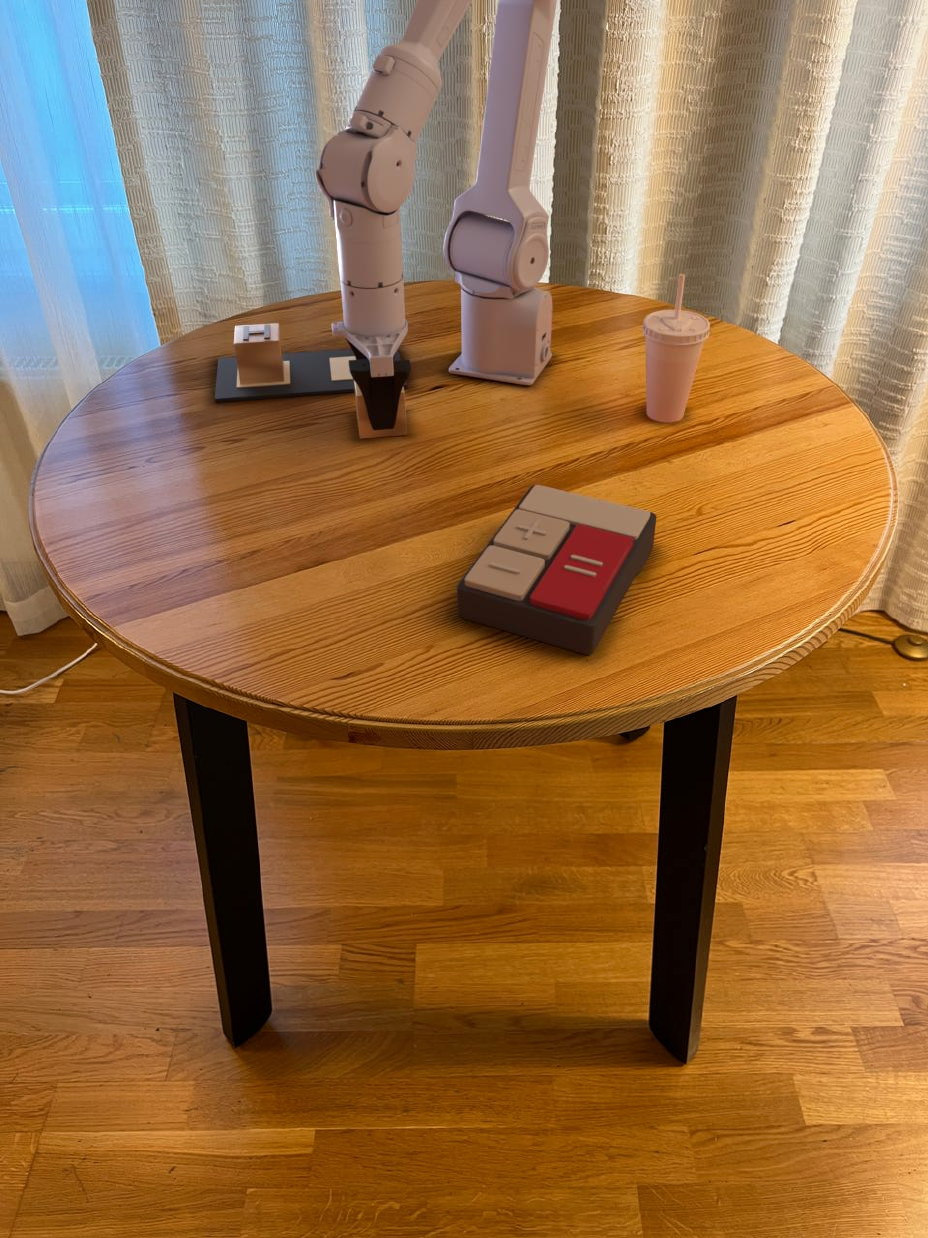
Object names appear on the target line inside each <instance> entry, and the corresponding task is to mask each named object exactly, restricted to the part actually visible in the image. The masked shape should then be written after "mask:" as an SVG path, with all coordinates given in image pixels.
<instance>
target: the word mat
mask: <svg viewBox="0 0 928 1238" xmlns="http://www.w3.org/2000/svg"><path fill="white" fill-rule="evenodd" d="M217 359H218V360H217V370H216V380H215V391H214V394H215V395H214V401H215V402H214V403H225V402H239V401H252V400H265V399H279V398H293V397H306V396H308V397H309V396H320V395H321V396H322V395H333V394H335V395H336V394H347V393H348V394H349V393H355V388H354V379H353V377H352V376H351V374H350V370H349V362H348V361H349V360H356V357H355V355H354V353H353V351H352V349H351V348H346V349H333V350H332V349H330V350H318V351H317V350H315V351H304V352H303V351H301V352H289V353H283V361H284V381H282V382H268V383H255V384H240V379H239V372H238V366H237V360H236V356H232V357H231V356H230V357H218V358H217ZM398 360H402V358H401V354H400V350H399V348H398V349H397V351H396V353H395V357H394V361H398ZM403 387H404V389H407V388H408V384H407V380H406V381H405V383H404V386H403Z"/></svg>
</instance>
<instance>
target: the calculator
mask: <svg viewBox="0 0 928 1238" xmlns="http://www.w3.org/2000/svg"><path fill="white" fill-rule="evenodd" d="M656 525H657V514H656V513H654V512H651V511H648V510H646V509H645V510H644V509H641V508H637V507H633V506H629V505H624V504H620V503H616V502H612V501H608V500H603V499H600V498H595V497H591V496H588V495H587V496H586V495H582V494H580V493H579V494H578V493H575V492H571V491H567V490H561V489H557V488H553V487H549V486H545V485H542V484H541V485H540V484H532V485H531V486H530V487H529V488H528V490H527V491H526V492H525V494H524V495H523V497H522V498H521V499H520V500H519V502H518V503H517V504H516V506H515V507H514V508H513V510H512V511H511V512H510V514H509V515H508V516H507V517H506V519H505V521H504V522H503V523H502V524H501V526H500V527H499V528H498V530H496V532H495V534H494V535H493V536H492V538H491V539H490V541H489V542H488V543H487V545H486V546H485V547H484V549H482V551H481V553H480V554H479V556H478V557H477V558H476V559H475V560H474V562H473V563H472V565H471V566H470V567H469V568H468V570H467V572H466V573H464V575H463V576H462V578H461V580H460V581H459V582H458V584H457V585H456V605H457V615H458V617H459V618H461V619H464V620H466V621H467V620H468V621H471V622H474V623H477V624H482V625H485V626H488V627H491V628H494V629H498V630H501V631H504V632H505V631H506V632H507V633H511V634H515V635H518V636H522V637H525V638H529V639H531V640H535V641H538V642H542V643H546V644H548V645H552V646H555V647H559V648H561V649H565V650H569V651H572V652H576V653H579V654H581V655H582V654H583V655H585V656H589V655H593V654H594V653H595V650H596V648H597V647H598V645H599V643H600V641H601V639H602V638H603V636H604V634H605V632H606V631H607V629H608V627H609V625H610V623H611V621H613V618H614V616H615V614H616V613H617V611H618V609H619V607H620V605H621V603H622V602H623V600H624V598H625V596H626V594H627V593H628V591H629V589H630V587H631V585H632V584H633V582H634V580H635V579H636V576H637V575H639V574H640V573H641V572H642V571H643V569H644V566H645V565H646V563H647V561H648V559H649V557H650V555H651V554H652V552H653V550H654V543H655V535H656V534H655V533H656Z"/></svg>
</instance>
